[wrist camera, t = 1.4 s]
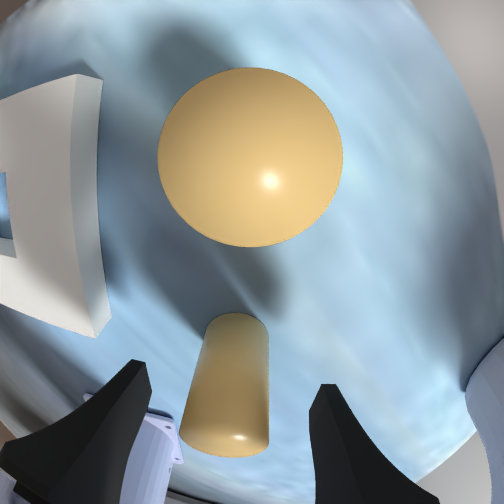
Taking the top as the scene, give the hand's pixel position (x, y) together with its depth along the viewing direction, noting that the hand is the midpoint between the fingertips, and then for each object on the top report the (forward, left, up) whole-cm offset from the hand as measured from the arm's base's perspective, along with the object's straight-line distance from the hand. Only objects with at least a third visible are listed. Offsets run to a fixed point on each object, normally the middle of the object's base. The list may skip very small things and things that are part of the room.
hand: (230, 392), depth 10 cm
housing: (+6, +18, -4) cm, 19 cm away
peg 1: (+9, 0, -4) cm, 10 cm away
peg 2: (0, 0, -4) cm, 4 cm away
